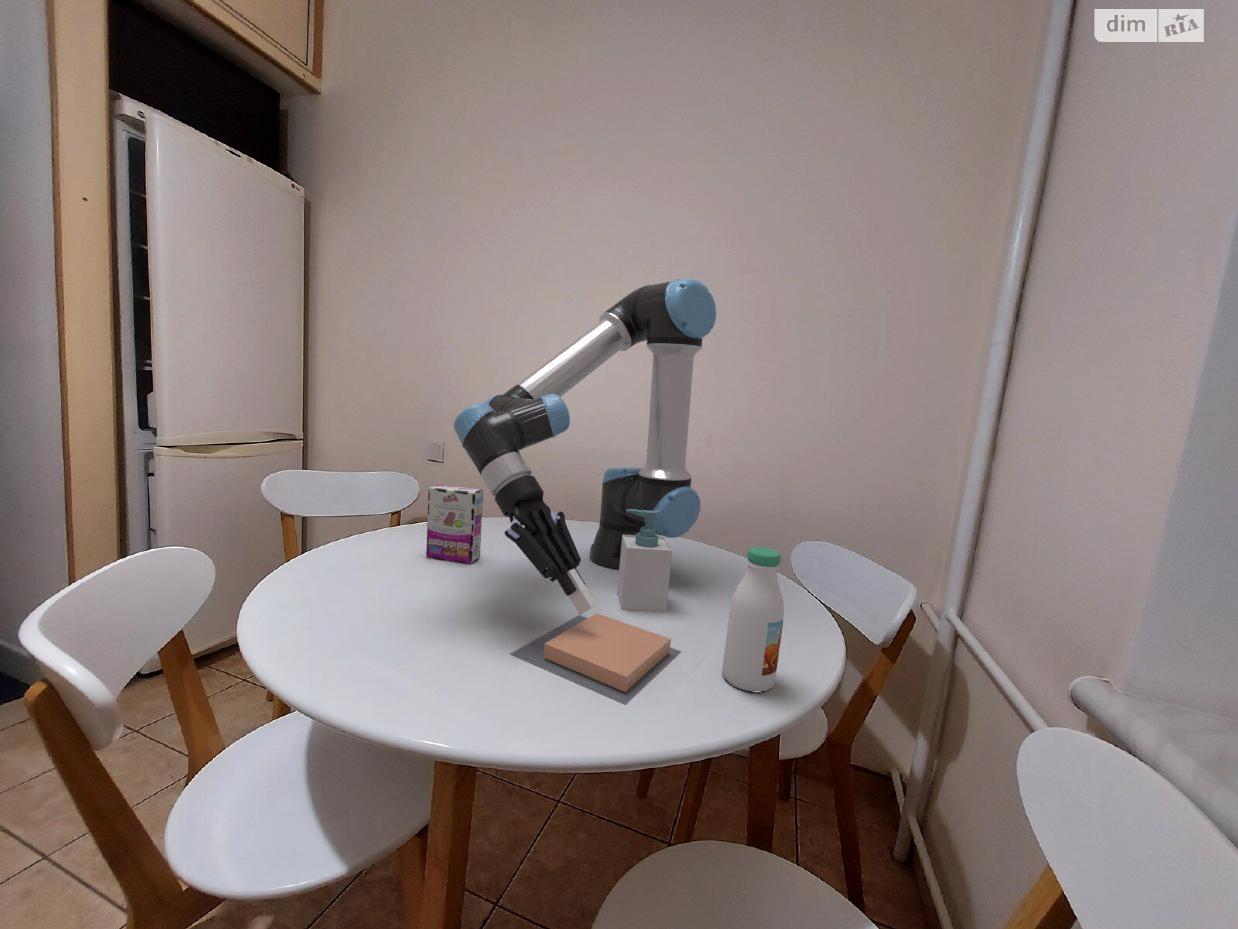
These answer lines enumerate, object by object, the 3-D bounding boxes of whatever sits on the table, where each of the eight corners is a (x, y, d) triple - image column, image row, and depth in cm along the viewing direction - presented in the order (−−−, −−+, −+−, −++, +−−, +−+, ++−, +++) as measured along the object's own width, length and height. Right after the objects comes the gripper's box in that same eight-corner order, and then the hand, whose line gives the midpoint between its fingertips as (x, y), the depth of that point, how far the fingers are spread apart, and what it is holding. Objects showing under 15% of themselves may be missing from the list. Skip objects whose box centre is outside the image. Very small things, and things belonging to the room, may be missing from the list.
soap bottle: (615, 595, 105) (624, 503, 102) (658, 597, 106) (667, 506, 103) (619, 613, 96) (629, 514, 94) (665, 615, 97) (676, 517, 95)
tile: (544, 643, 76) (626, 677, 69) (596, 613, 88) (671, 639, 81) (543, 659, 76) (625, 694, 69) (595, 627, 88) (669, 653, 81)
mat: (509, 659, 77) (509, 654, 77) (578, 619, 92) (579, 615, 92) (624, 710, 67) (625, 704, 67) (681, 656, 82) (681, 651, 82)
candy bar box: (480, 558, 119) (484, 489, 117) (471, 565, 114) (475, 492, 112) (436, 552, 121) (439, 483, 119) (424, 558, 116) (427, 486, 114)
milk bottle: (742, 698, 72) (760, 560, 69) (711, 669, 79) (726, 543, 76) (785, 689, 75) (804, 558, 72) (752, 663, 82) (768, 541, 79)
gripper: (526, 494, 93) (595, 608, 87) (471, 504, 82) (547, 635, 76) (551, 469, 90) (625, 586, 84) (498, 476, 79) (579, 611, 73)
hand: (588, 609), depth 80 cm, fingers closed
